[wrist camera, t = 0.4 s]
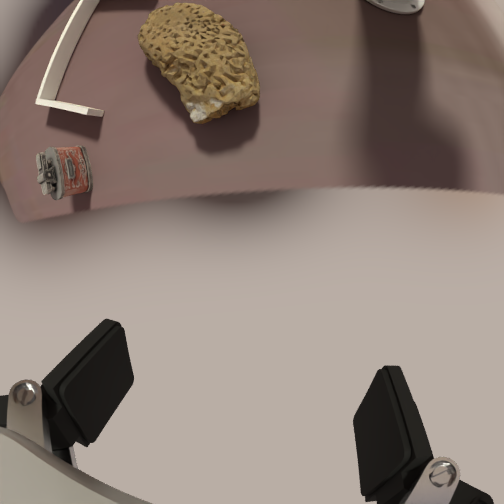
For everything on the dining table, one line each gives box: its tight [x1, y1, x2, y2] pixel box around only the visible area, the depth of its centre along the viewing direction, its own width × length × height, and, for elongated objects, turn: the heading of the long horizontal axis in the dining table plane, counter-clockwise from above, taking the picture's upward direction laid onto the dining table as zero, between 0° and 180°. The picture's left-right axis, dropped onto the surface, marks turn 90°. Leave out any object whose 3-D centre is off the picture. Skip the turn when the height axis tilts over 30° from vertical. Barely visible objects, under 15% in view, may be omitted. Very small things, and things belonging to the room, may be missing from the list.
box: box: [35, 0, 104, 117], centre depth 28 cm, size 24×15×4 cm, turn 158°
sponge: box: [138, 2, 260, 124], centre depth 27 cm, size 13×8×20 cm
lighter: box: [36, 146, 93, 200], centre depth 33 cm, size 8×3×10 cm, turn 13°
